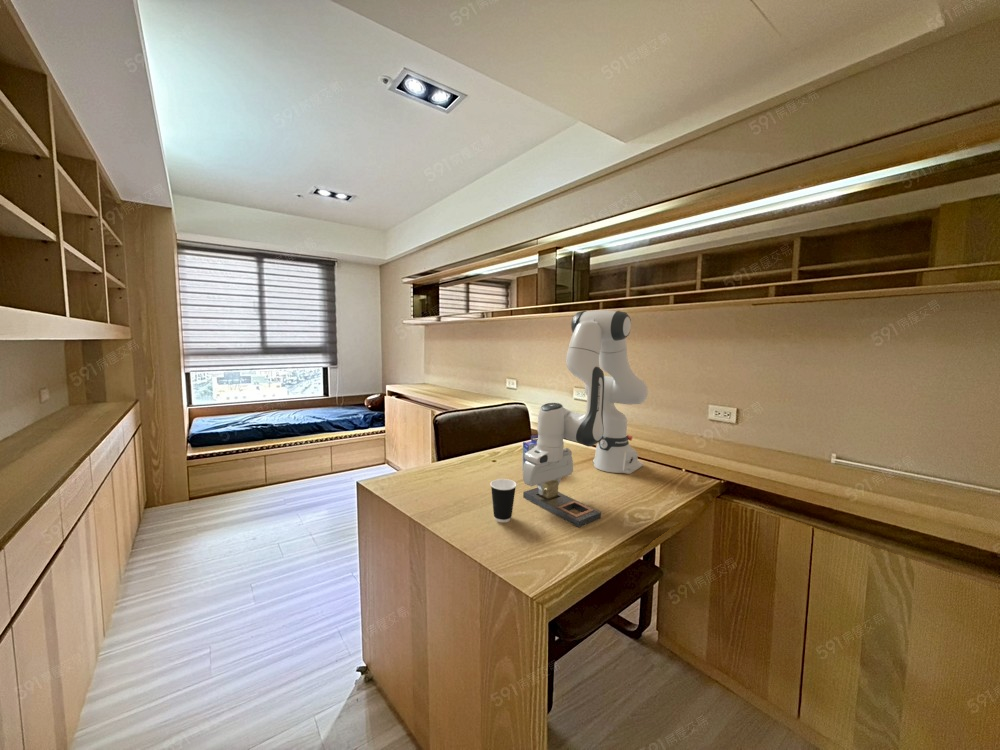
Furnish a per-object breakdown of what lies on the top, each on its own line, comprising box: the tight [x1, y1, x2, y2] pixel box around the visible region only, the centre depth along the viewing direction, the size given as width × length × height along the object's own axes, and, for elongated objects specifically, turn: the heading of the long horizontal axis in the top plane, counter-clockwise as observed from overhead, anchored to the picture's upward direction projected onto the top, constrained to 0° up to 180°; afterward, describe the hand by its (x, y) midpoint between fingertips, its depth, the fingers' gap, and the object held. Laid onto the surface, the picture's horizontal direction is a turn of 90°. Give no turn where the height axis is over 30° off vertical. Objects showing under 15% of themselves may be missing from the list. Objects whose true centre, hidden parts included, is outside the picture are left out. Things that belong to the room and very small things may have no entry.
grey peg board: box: [522, 487, 602, 529], centre depth 123 cm, size 10×25×2 cm, turn 37°
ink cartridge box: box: [522, 434, 538, 469], centre depth 155 cm, size 10×6×14 cm, turn 116°
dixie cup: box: [489, 478, 517, 523], centre depth 114 cm, size 8×8×11 cm
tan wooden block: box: [539, 479, 559, 501], centre depth 127 cm, size 4×4×7 cm
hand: (548, 492), depth 127 cm, fingers closed on tan wooden block, 4 cm apart
